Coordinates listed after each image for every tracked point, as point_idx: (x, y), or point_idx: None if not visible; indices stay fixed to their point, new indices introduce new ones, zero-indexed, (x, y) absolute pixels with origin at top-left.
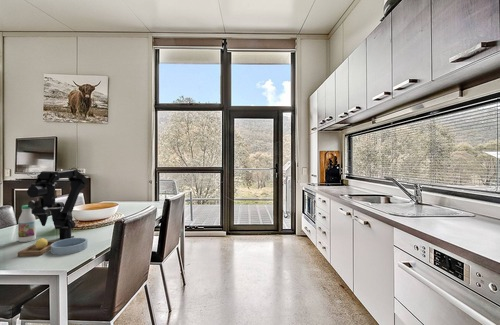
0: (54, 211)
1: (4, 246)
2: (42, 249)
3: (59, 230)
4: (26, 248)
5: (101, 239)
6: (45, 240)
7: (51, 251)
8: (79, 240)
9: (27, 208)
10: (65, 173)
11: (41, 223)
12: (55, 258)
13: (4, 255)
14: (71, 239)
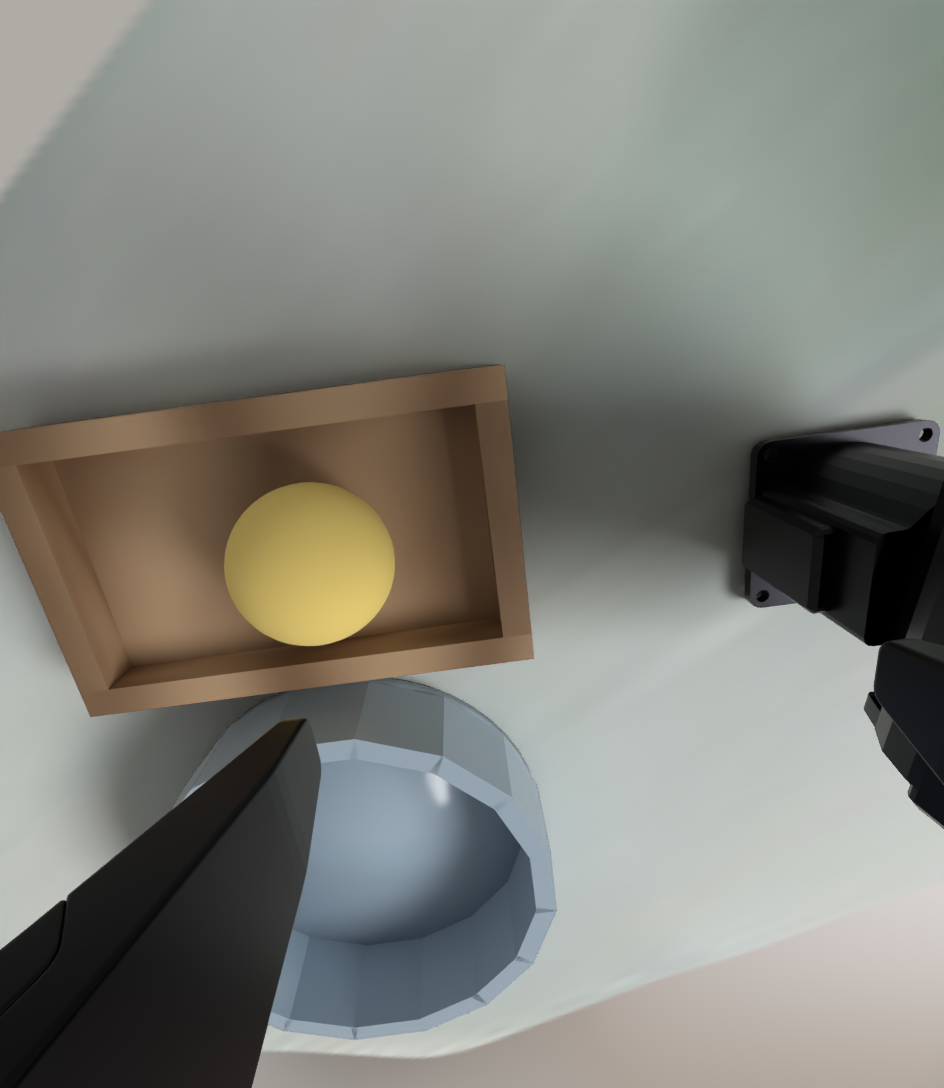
0: None
1: None
2: (167, 683)
3: (867, 535)
4: (157, 428)
5: (724, 913)
6: (311, 644)
7: (205, 759)
8: (530, 883)
9: None
10: None
11: (209, 789)
12: (124, 838)
13: (58, 119)
14: (515, 830)
